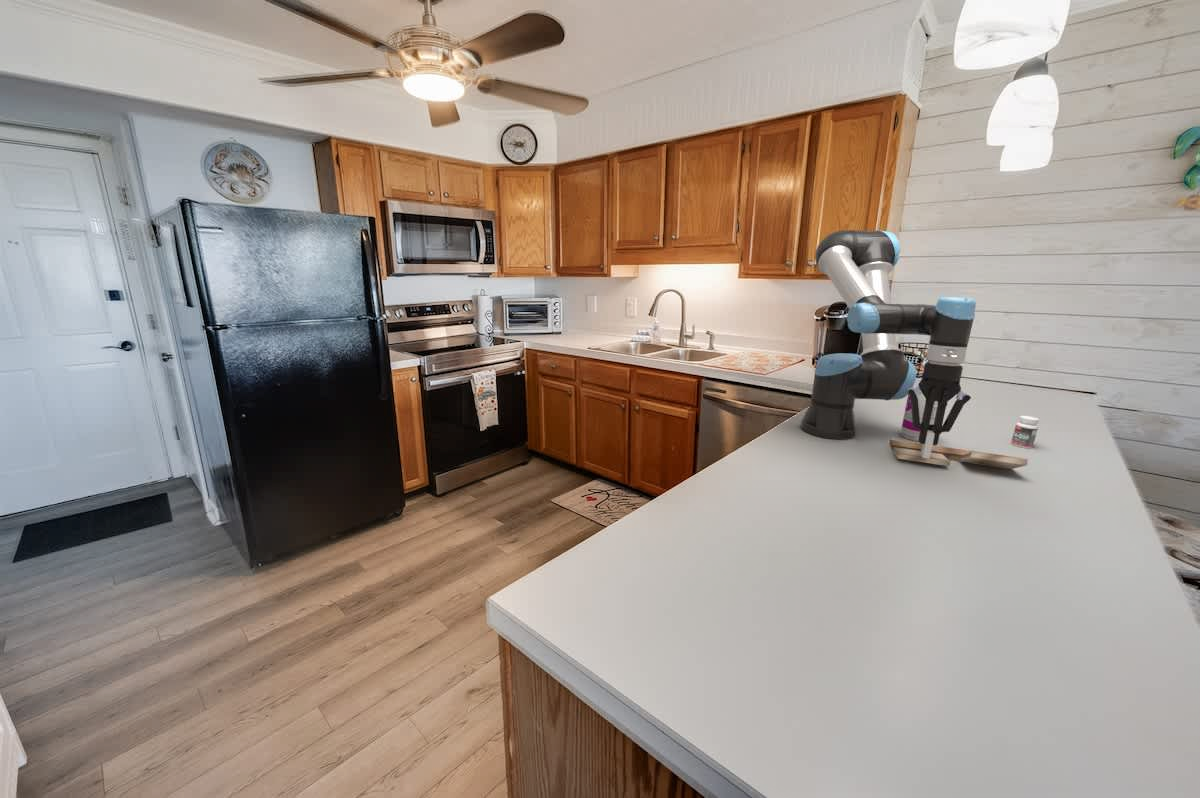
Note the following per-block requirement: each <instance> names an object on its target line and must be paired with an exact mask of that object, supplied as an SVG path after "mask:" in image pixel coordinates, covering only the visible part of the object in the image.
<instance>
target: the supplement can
mask: <svg viewBox="0 0 1200 798" xmlns="http://www.w3.org/2000/svg"><path fill="white" fill-rule="evenodd" d="M916 386H917V385H914V386H913V387H916ZM917 398H918V406H919V417H920V423H922V418H923V413H924V408H925V400H926V398H925V397H924V395H923V393H922V392H921V390H920V391H919V395H918V396H917ZM937 406H938V401H935V403H934V405H933V410H932V415H931V419H930V424H929V429H928V430H930V431H933V426H934V421H935V416H936V411H937ZM903 413H904V414H903V418H902V419H903V420H902V423H901V429H900V434H901V436H902V437H903V438H905V439H907V440H910V441H913V442H914V441H915V442H919V435H920V429H918V428H915V427H914V425H913V421H912V410H911V399H910V396H909V394H908V395H907V399H906V405H905V409H904V412H903Z"/></svg>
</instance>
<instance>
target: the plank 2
mask: <svg viewBox="0 0 1200 798" xmlns="http://www.w3.org/2000/svg"><path fill="white" fill-rule="evenodd" d="M969 451H970V453H968V454H965V455H963V456H960V461H959V462H963V463H968V464H969V463H971V464H977V465H981V466H982V465H983V466H990V467H997V468H1003V469H1008V470H1009V469H1011V470H1014V469H1018V468H1022V467H1027V466H1028V460H1029V459H1028V458H1024V457H1016V456H1010V455H1009V456H1008V455H1004V456H1003V455H1002V454H998V455H996V453H990V454H989V452H983V451H976V452H975V450H969ZM982 452H983V453H982Z"/></svg>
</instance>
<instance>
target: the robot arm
mask: <svg viewBox="0 0 1200 798" xmlns="http://www.w3.org/2000/svg"><path fill="white" fill-rule="evenodd" d="M900 253H901V246H900V242H899V239H898V236H896V234H894V233H893V232H890V231H884V230H879V229H875V230H857V229H856V230H854V229H853V230H851V229H841V230H836V231H833V232H831V233H829V234H828V235H826V236H825V237H824V238H823V239H822V240H821V241H820V242H819V243H818V245H817V247H816V251H815V253H814V261H815V264H816V266H817V268H818V269H819V271H820V272H821V273H822V274H824V275H826V276H827V277H828V278H829V280H830V281H831V283H832V284H833V286H834V287H835V289H836V290H837V292H838V294H839V295H840V297H841V298H842V300H843V301H844V302H845V304H846V306H847V308H848V309H849V310H848V312H847V316H846V321H847V326H848V329H849V330H850V331H851V332H853V333H861V340H862V350H863V351H862V352H861V354H856V353H850V352H849V353H843V352H841V353H839V352H838V353H829V354H825V355H822V356H821V357H819V358H818V359H817V362H816V366H815V369H814V372H813V373H814V378H813V383H812V384H813V386H812V392H811V397H810V398H811V399H810V404H809V406H808V408H807V410H806V411H805V414H804V415H803V417H802V419H801V424H800V429H802V431H804V432H805V433H808V434H810V435H812V436H813V435H814V436H816V437H820V438H824V439H832V440H833V439H834V440H848V439H853V438H854V437H856V434H857V423H856V418H855V412H854V407H855V402H856V399H857V400H881V401H882V400H883V401H895V400H896V401H897V400H898V401H899V400H902V399H904V398H905V397H908V394H909V396H910V399H911V410H912V421H913V425H914V427H915V428H918V429H920V435H919V441H918V443H919V444H922V449H921V454H920V455H921V456H922V458H928V459H930V455H931V450H932V445H934V446H938V444H939V439H940V434H943V433H949V432H950V431H951V430H952V428H953V425H954V424H955V422H956V420H957V418H958V416H959V415H960V413H961V411H962V409H963V407H964V406H965V405H966V404H967V403H968V402H969V401H970V400H972V399H971V396H970V395H969V394H967V393H965V392H963V391H962V387H961V384H960V383H961V379H962V374H963V369H964V368H963V365H962V364H964V363H965V358H966V355H967V349H968V344H969V342H970V341H969V340H970V337H971V332H972V328H973V322H974V319H975V312H976V305H977V301H976V299H974V298H971V297H951V296H950V297H947V296H945V297H944V296H942V297H939V298H938V299H937V300H936V301H937V302H936V304H934V305H933V304H925V303H923V304H922V303H921V304H920V303H917V304H916V303H915V304H910V303H909V304H904V303H902V304H901V303H900V304H899V303H892V299H891V298H892V296H891V289H890V280H889V274H890V273H891V272H892V271H893V270H894V267H895V266H896V265H897V263H898V261H899V258H900V256H899V254H900ZM896 335H917V336H919V335H921V336H929V342H928V347H927V352H926V356H925V360H926V361H927V362H925V363H924V366H923V367H924V368H923V371H922V376H921V380H920V381H919V382H918V385H915V382H916V380H917V370H916V367H915V364H913V362H912V361H910V360H907V359H905V354H904V351H903V350H902V349H901V348H898V345H897V340H896ZM913 386H916V387H913ZM920 390H921V392H922V393H923V395H924V397H925V398H926V400H925V408H924V413H923V418H922V423H920V417H919V406H918V398H917V396H918V395H919V391H920ZM954 397H955V399H956V400H955V402H954V404H953V405H952V406H951V409H950V411H949V412H948V415H947V417H946V418H945V413H946V408H947V406H948V402H949V401H951V399H953V398H954ZM935 401H938V406H937V411H936V416H935V421H934V426H933V431H930V430H928V429H929V424H930V419H931V415H932V410H933V405H934V403H935ZM944 419H945V420H944Z"/></svg>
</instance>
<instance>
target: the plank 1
mask: <svg viewBox="0 0 1200 798" xmlns="http://www.w3.org/2000/svg"><path fill="white" fill-rule="evenodd" d="M892 452H893V453H894V455H895V456H896V458H897V459H898V460H899V459H901V460H907V461H911V462H918V463H924V464H925V463H926V464H930V465H931V464H933V465H939V466H943V467H950V466H951V465H950V464H951V461H952V459H947V458H946V457H945V456H944V455H942V454H938V453H931V455H930V459H928V458H922V456H921V455H920V454H921V451H917V450H910V449H903V448H896V447H894V449H893V451H892Z"/></svg>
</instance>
